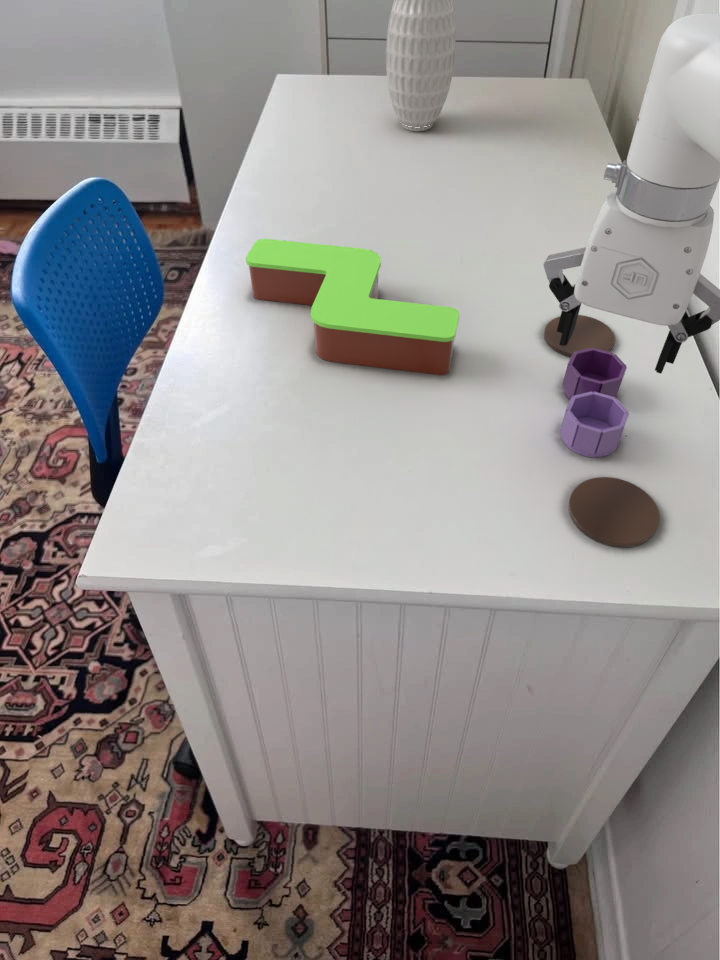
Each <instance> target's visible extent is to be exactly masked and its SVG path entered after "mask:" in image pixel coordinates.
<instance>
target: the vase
mask: <svg viewBox="0 0 720 960" xmlns="http://www.w3.org/2000/svg"><path fill="white" fill-rule="evenodd" d="M454 10H455V9H454V6H453V0H393V3H392V6H391V9H390V14H389V19H388V25H387V32H386V44H385V69H386V70H385V71H386V81H387V88H388V92H389V94H388V95H389V98H390V101H391V104H392V107H393V111H394V113H395V115H396V117H397V119H398V121H399V123H400V122H401V123H402V124H401V123H400V125H401V127H402V128H403V129H404V130H407V131H410V132H425V131H428V130H430V129H431V128H433V126H434V124H435V123H436V122H437V120H438V118H439V117H440V115H441V112H442V110H443V107H444V105H445V104H446V101H447V98H448V95H449V92H450V88H451V84H452V79H453V75H454V74H453V73H454V66H455V57H456V41H457V40H456V39H457V37H456V36H457V33H456V29H457V28H456V18H455V12H454ZM434 122H435V123H434ZM433 123H434V124H433ZM403 124H404V125H403ZM405 125H407V126H405ZM429 125H430V126H429ZM408 126H412V127H408ZM424 126H427V127H424ZM415 127H420V128H415Z"/></svg>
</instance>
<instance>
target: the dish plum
mask: <svg viewBox="0 0 720 960" xmlns="http://www.w3.org/2000/svg"><path fill="white" fill-rule="evenodd" d="M566 365H567V366H566V369H565V373H564V377H563V381H562V383H561V387H562V391H563V394H564V396H565V397H566V398H567V399H568V400H569V401H570V399H571V397H573V396H574V395H579V394H583V393H587V392H591V391H592V392H598V393H601V394H605V395H608V396H612V397H615V399H618V395H619V392H620V390H621V387H622V384H623V380H624V377H625V374H626V371H627V369H628V367H627V365H626V363H624V362H623V360H622V359H621V358H620V357H619V356H618V355H617V354H616V353H614V352H611V351H610V352H608V351H604V350H600V349H597V348H594V349H593V348H588V349H584V350H580V351H575V352H574V353H573V354H572V356H571V357H569V360H568V362H567V364H566Z"/></svg>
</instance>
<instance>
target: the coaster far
mask: <svg viewBox="0 0 720 960" xmlns="http://www.w3.org/2000/svg"><path fill="white" fill-rule="evenodd" d="M559 320H560V316H557V317H555V318H553V319H551V320H549V321H548V323H547V324H546V325H545V328H544V331H543V337H544V341H545V342H546V344H547V345H548V346H549V348H551V349H552V350H553V351H555V352H556V353H559V354H560V355H563V356H565V357H569V358H571V356H572V354H573V353H574V352H575V351H580V350H584V349H588V348H593V349H594V348H597V349H600V350H604V351H608V352H611V351H612V350H613V348H614V345H615V341H616V337H615V333H614V332H613V330H612V329H611V328H610V327H609V326H608V325H607V324H606V323H604V322H603V321H601V320H599V319H598V318H595V317H591V316H588V315H582V314H578V317H577V321H576V325H575V329H574V332H573V334H572V336H571V338H570V340H569V342H568V344H567V345H565V346H562V345H559V344H560V340H561V336H562V333H560V332H557V328H558V324H559Z"/></svg>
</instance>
